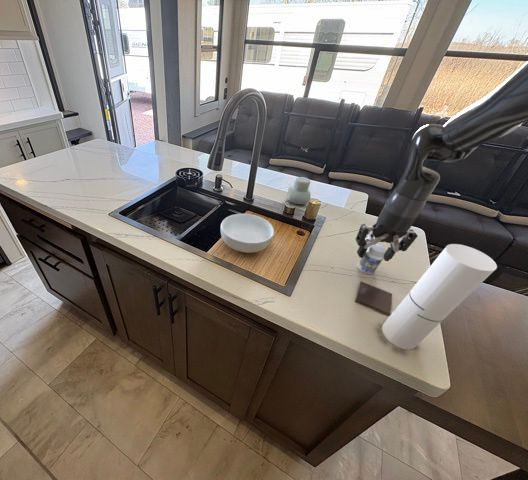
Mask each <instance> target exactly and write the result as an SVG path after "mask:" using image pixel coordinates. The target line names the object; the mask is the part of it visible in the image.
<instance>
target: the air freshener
mask: <svg viewBox="0 0 528 480" xmlns="http://www.w3.org/2000/svg"><path fill="white" fill-rule="evenodd" d="M310 185H311V180H310V179H309V178H308V177H306V176H298V177H296V178H295V180H294V183H293V186H290V187H288V190H287V200H288V201H289V202H291V203H293V204H295V205H305V204H308V203H309V202H310V201H311V196H312V195H311V194H312V193H311V190H310V189H309V187H310ZM309 200H310V201H309ZM308 201H309V202H308Z"/></svg>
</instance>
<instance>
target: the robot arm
mask: <svg viewBox="0 0 528 480" xmlns="http://www.w3.org/2000/svg"><path fill="white" fill-rule="evenodd" d="M526 122H528V60H527V61H526V62H525V63H524V64H523V65H521V67H519V68H518V69H517V70H516V71H515V72H514V73H513V74H511V75H510V76H509V77H508V78H507V79H506V80H505V81H503V82H502V83H501V84H500V85H499V86H497V87H496V88H495V89H494V90H492V91H491V92H490V93H488V94H487V95H486V96H484V97H482V98H481V99H479V100H478V101H476V102H474V103H473V104H471V105H469V106H468V107H466V108H464V109H463V110H462V111H460V112H458V113H457V114H456V115H454V116H453V117H451V118H450V119H449V120H448V121H447V122H445V124H437V123H430V124H426V125H423V126H421V127H419V129H418V130H417V131H416V132H415V133H414V134H413V136H412V138H411V139H410V140H411V142H410V144H409V149H408V156H407V159H406V164H405V167H404V170H403V173H402V175H401V177H400V179H399V181H398V183H397V184H396V186H395V188H394V190H392V192H391V194H390V195H389V196H388V198H387V200H386V202H385V204H384V206H383V207H382V210H381V211H380V213H379V215H378V217H377V219H376V222H375V223H374V224H373V225H367V224H366V223H362V224H361V225H360V227H359V229H358V232H357V235H356V237H355V242H356V244H357V246H358V248H357V251H356V254H357V256H358V258H360V259H362V258H363V257H364V255H365V253H366V251H367V250H368V249H369V248H370V246H371V245H375V244H378V243H387V244H389V246H388V247H387V248H386V252H385V254H384V258H383V260H384V261H385V262H389V261H391V260H392V259H393V257H394V256H395V254H396V253H398V252H400V251H401V252H406V251H407V250H408V249H409V248H410V246H411V245H412V244H413V243H414V241H416V239H417V238H418V236H419V235H418V234H417V232H415V230H414V229H411V227H413V225H414V223H415V221H417V218H418V217H419V215H420V214H421V212H422V211H423V209H424V208H425V206H426V203H427V201H428V200H429V198H430V197H431V195H432V193H433V192H434V190H435V188H436V187H437V185H438V184H439V182H440V180H441V175H440V174H439V172H437V171H435V170H433V169H431V168H428V167H425V166H424V165H423V164H424V161H425V160H426V161H427V160H428V161H429V160H430V161H433V162H435V161H436V162H441V163H448V164H449V163H450V164H451V163H458V162H462V161H463V160H465V159H467V157H469V156H470V154H471V153H473V152H474V151H475V150H476V149H478V148H479V147H481V146H483V145H486V144H489V143H490V142H494V141H496V140H498V139H501V138H502V137H504V136H506V135H508V134H510V133H512V132H513V131H515V130H516V129H517V128H519V127H520V126H521V125H522V124H524V123H526ZM399 239H401V240H399Z"/></svg>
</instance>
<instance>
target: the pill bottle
mask: <svg viewBox="0 0 528 480" xmlns="http://www.w3.org/2000/svg"><path fill="white" fill-rule="evenodd" d="M386 250H387V248H386V247H384V246H382V245H381V244H378V243H377V244H375V245H371V246H370V247H368V250H367V251H366V253H365V255H364V257H363V258H360V261H359V262H358V264H357V268H358V269H359V271H361V272H362V273H364V274H366V275H373V274H375V272H376V271H377V269H378V268H379V266H380V265H381V263H382V261H383V260H384V254H385V252H386Z"/></svg>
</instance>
